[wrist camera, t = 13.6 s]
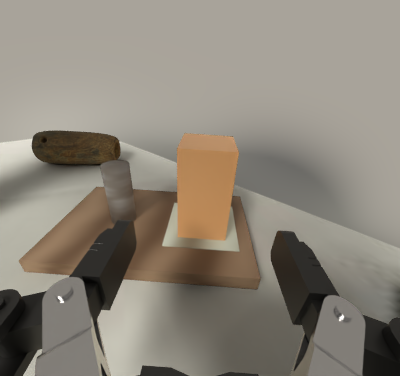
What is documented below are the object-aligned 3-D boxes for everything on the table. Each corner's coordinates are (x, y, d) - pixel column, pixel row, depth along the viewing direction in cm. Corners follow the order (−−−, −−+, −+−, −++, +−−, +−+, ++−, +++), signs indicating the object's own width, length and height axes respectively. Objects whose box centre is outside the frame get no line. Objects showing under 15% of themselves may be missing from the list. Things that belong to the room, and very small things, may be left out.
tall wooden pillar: (177, 237, 21) (177, 148, 16) (183, 209, 26) (184, 133, 21) (225, 240, 21) (238, 152, 16) (222, 212, 26) (232, 136, 21)
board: (24, 271, 19) (-20, 195, 14) (98, 195, 31) (85, 141, 27) (257, 289, 18) (280, 216, 14) (238, 204, 30) (247, 152, 26)
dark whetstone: (34, 171, 37) (20, 136, 34) (50, 158, 43) (40, 127, 40) (118, 168, 40) (113, 136, 37) (122, 156, 46) (118, 127, 43)
